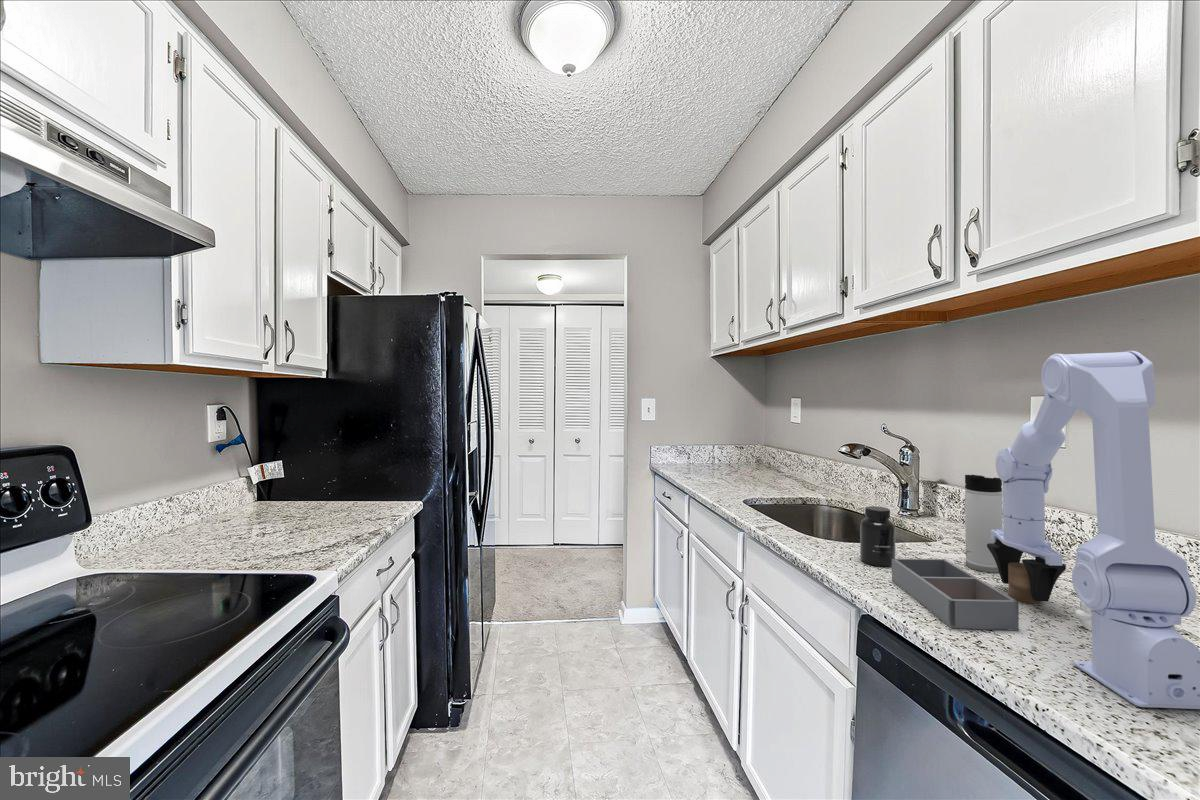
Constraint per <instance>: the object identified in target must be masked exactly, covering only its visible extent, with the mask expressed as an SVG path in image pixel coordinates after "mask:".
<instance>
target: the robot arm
mask: <svg viewBox="0 0 1200 800" xmlns="http://www.w3.org/2000/svg"><path fill="white" fill-rule="evenodd" d="M1154 369H1155V368H1154V363H1153V362H1152V361H1151V360H1150V359H1149V358H1147V357H1145V356H1144V354H1142V353H1140V352H1138V351H1137V350H1126V351H1120V352H1119V351H1118V352H1116V351H1115V352H1095V353H1073V354H1072V353H1067V354H1066V353H1065V354H1064V353H1053V354H1052V355H1050V356H1049V357H1048V358H1047V359H1046V360H1045V361H1044V363H1043V364H1042V368H1041V384H1042V388H1043V391H1044V397H1043V400H1042V402H1041V404H1040V406H1039V409H1038V411H1037V414H1036V416H1035V418H1034V420H1030V421H1027V422H1026V423H1024V424H1023V425H1022V426H1021V429H1020V430H1019V431H1018V433H1017V435H1016V437H1015V439H1014V440H1013V442H1012V444H1011V446H1009V447H1008V446H1007V447H1004V448H1001V449H999V450H998V452H997V455H996V458H995V470H996V473H997V476H998V478H1000V479H1001V480H1002V514H1003V530H991V540H994V541H995V542H994V543H988V544H987V548H988V549H989V550H990V552H991V554H992V555H993V557H994V559H995V562H996V564H997V567H998V570H999V572H998V574H999V577H1000V580H1001V582H1002V584H1004V585H1008V564H1009V563H1012V562H1018V563H1023V564H1024V566H1025V568H1026V570H1027V573H1028V576H1029V580H1030V588H1031V595H1032V598H1033V600H1035V601H1041V602H1045V603H1046V602H1049V601H1050V598H1051V594H1052V592H1053V589H1054V587H1055V584H1056V582H1057V581H1058V579H1059V577H1060V576H1061V575H1062V573H1064V572H1065V571H1066V570H1067V565H1066V564H1065V563H1063V554H1062V553H1060V552H1058V551H1057V550H1055V549H1054V548H1053V547H1052V542H1051V541H1050V540H1049V541H1048V540H1046V532H1045V531H1046V530H1045V529H1046V526H1045V525H1046V518H1045V517H1046V516H1045V494H1047V493H1048V491H1049V486H1050V485H1049V484H1050V480H1051V479H1052V477H1053V476H1052V475H1053V468H1052V463H1051V462H1052V461H1053V459H1054V457H1055V456H1056V455H1057V453H1058V452H1059V450H1060V449H1061V447H1062V446H1063V444H1064V443H1065V440H1066V435H1065V433H1064V431H1063V429H1064V428H1065V426H1067V425H1068V423H1069V422H1070V421H1071V419H1072V418H1074V416H1076V414H1077V412H1079V410H1081V411H1083V413H1085V414H1086V415H1087V416H1089V418H1090V419H1091V421H1092V440H1093V461H1094V462H1093V463H1094V483H1095V498H1096V499H1095V500H1096V501H1095V502H1096V504H1095V505H1096V521H1097V526H1096V527H1097V534H1096V535H1094V536H1093V537H1092V538H1090V539H1089V540H1087V541H1085V542H1084V543H1082V544H1081V545H1079V546H1078V547H1076V553H1075V554H1076V556H1075V562H1074V567H1073V569H1072V572H1071V578H1072V580H1071V581H1072V586H1073V589H1074V592H1075V594H1076V595H1077V597H1078V599H1079V600H1080V601H1082V602H1083V603H1084V604H1085V605H1086V606H1087V607H1089V608H1090V609H1092V612H1091V613H1092V618H1091V619H1092V630H1091V660H1087V661H1085V660H1074V661H1073V666H1075V667H1077V668H1078V669H1079V670H1082V672H1084V673H1086V674H1087V675H1089V676H1091V677H1092V678H1093V679H1095V680H1096V681H1098V682H1099V683H1101V684H1102V685H1104V686H1106V687H1107V688H1108V689H1110V690H1111V691H1113V692H1115V693H1116V694H1117V695H1119V696H1121V697H1122V698H1124V699H1125V700H1126V701H1128V702H1130V703H1131V704H1132V705H1135V706H1137V707H1139V708H1159V709H1160V708H1161V709H1162V708H1163V709H1185V710H1188V709H1189V710H1200V650H1199V648H1198V647H1197V645H1196V644H1194V643H1193V642H1192V641H1190V640H1189V639H1187V638H1186V637H1184V636H1183V635H1182V634H1181V633H1180V632H1179V631H1178V630H1177V628H1176V627H1175V626H1177V625H1178V626H1181V625H1182V618H1186V617H1188V616H1190V615H1192V613H1193V612H1194V609H1195V607H1196V605H1197V592H1196V589H1195V587H1194V584H1193V582H1192V580H1191V577H1190V575H1189V571H1188V562H1187V560H1185V559H1184V558H1182V557H1181V555H1179V554H1177V553H1176V552H1174V551H1172V550H1171V549H1169V548H1167V547H1166V546H1164V545H1163V544H1161V543H1159V542H1158V541H1156V533H1155V532H1156V528H1155V510H1154V509H1155V508H1154V491H1153V475H1152V474H1153V472H1152V470H1153V469H1152V457H1151V456H1152V455H1151V454H1152V453H1151V434H1150V419H1149V418H1150V417H1149V414H1150V412H1149V409H1150V408H1151V409H1152V408H1153V407H1155V405H1156V388H1155V387H1156V385H1155V370H1154ZM1023 554H1027V555H1030V556H1032V557H1034V558H1035V559H1033V558H1032V559H1031V558H1030V559H1029V558H1028V559H1026V558H1025V559H1024V558H1023V559H1022V556H1023ZM1021 559H1022V560H1021Z"/></svg>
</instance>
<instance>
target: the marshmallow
mask: <svg viewBox="0 0 1200 800" xmlns="http://www.w3.org/2000/svg"><path fill="white" fill-rule="evenodd" d="M1073 614H1074V615H1075V616H1076V617H1077V618H1078V619H1079V624H1080V625H1081V626H1082V627H1083V628H1084V629H1085V630H1087V629H1091V630H1090V631H1092V609H1090V608H1089V607H1087V606H1086V605H1085V604H1084V603H1083V602H1082V601H1081V600H1080V601H1079V608H1077V609H1074V611H1073Z"/></svg>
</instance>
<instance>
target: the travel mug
mask: <svg viewBox="0 0 1200 800" xmlns="http://www.w3.org/2000/svg"><path fill="white" fill-rule="evenodd" d="M964 483H965V484H964V514H965V515H964V517H965V518H964V519H965V520H964V522H965V523H964V525H965V527H964V528H965V565H966V567H968V568H970V569H971V570H975V571H978V572H982V573H988V572H990V573H991V574H997V573H998V574H999V570H998V567H997V564H996V562H995V559H994V557H993V555H992V554H991V552H990V550H989V549H988V548H987V544H988V543H994V542H995V541H994V540H991V530H1003V481H1002V480H1001V479H1000V478H999V477H985V476H984V475H978V474H964Z"/></svg>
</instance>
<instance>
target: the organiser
mask: <svg viewBox="0 0 1200 800" xmlns="http://www.w3.org/2000/svg"><path fill="white" fill-rule="evenodd" d="M891 581H892V582H893V583H894V584H895V583H896V584H895V585H897V586H898V587H899V588H900V587H901V588H900V589H902V590H903V592H905V591H906V592H905V593H907V594H908V595H909V594H910V595H911V596H912V598H913V599H914V600H915V599H916V600H917V603H919V604H920V603H921V604H922V605H921V606H923V607H924V608H925V607H926V608H927V609H926V608H925V609H926V610H928V611H929V612H930V611H931V612H932V613H931V612H930V613H931V614H932V615H934V616H935V617H937V619H939V620H942V621H941V622H943V623H944V624H945V625H946V626H947V627H948V628H950V629H953V628H966V629H965V630H994V629H1012V630H1011V631H1019V630H1020V623H1019V621H1020V620H1019V619H1020V617H1019V615H1020V612H1019V611H1020V610H1019V609H1020V608H1019V606H1020V605H1019V604H1020V603H1019V602H1018V601H1016V600H1014V599H1013V598H1011V597H1009V595H1007V594H1005V593H1004V592H1002V591H1001V590H999V589H998V588H996V587H994V586H992V585H990V584H988V583H987V582H986V581H983V580H982V579H980V578H978V577H977V576H975V575H973V574H972V573H970V572H969V571H967V570H964V569H962V568H961V567H960V566H958V565H956V564H954V563H952V562H951V561H949V560H947V559H945V558H895V559H892V566H891ZM910 595H909V596H910ZM911 596H910V597H911ZM916 600H915V601H916ZM967 628H969V629H967ZM971 628H972V629H971Z"/></svg>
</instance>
